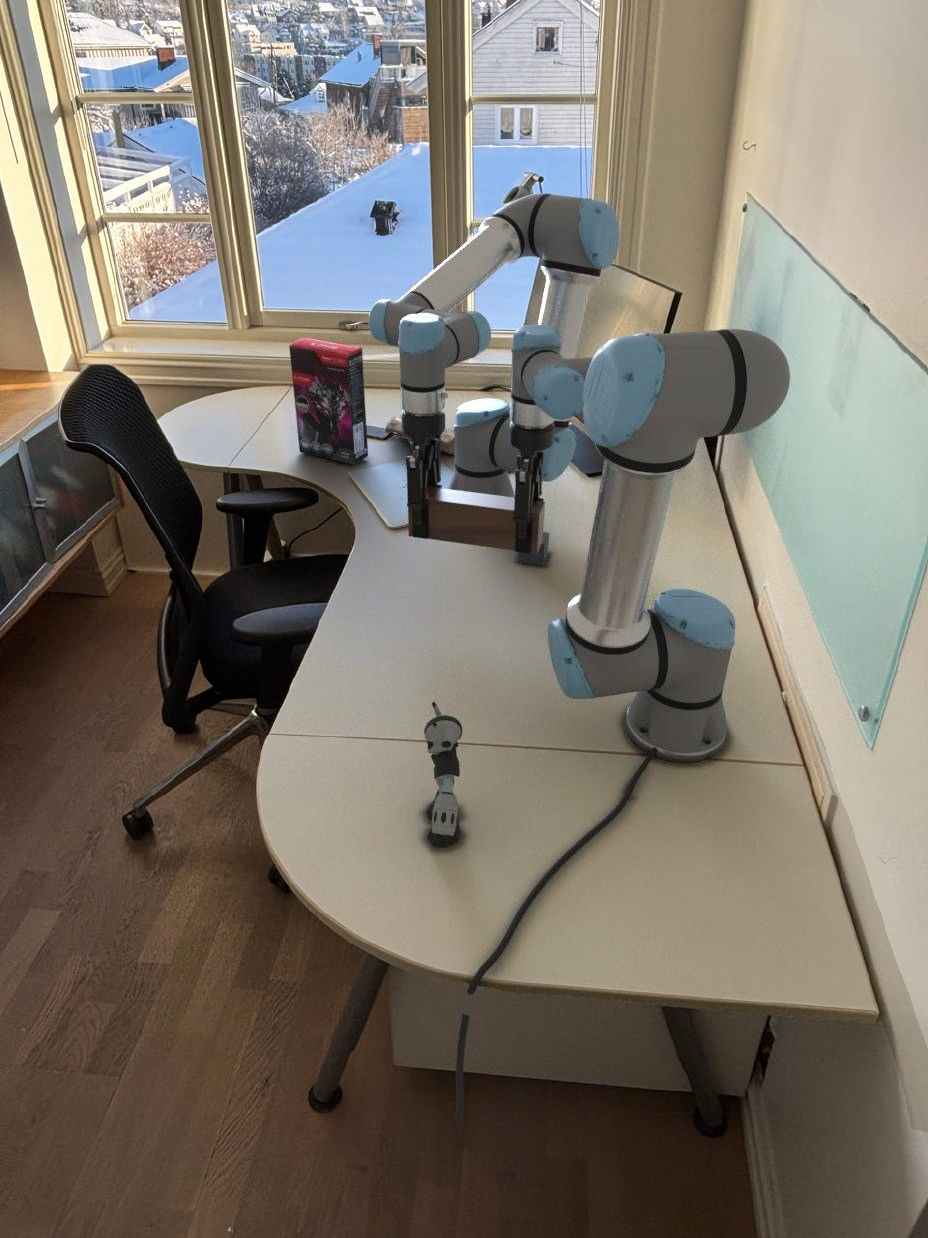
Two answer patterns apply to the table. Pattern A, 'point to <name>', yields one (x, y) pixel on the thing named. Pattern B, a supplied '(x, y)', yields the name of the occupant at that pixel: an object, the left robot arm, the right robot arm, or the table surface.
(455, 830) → the robot
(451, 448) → the stone
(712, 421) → the right robot arm
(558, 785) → the table surface
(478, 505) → the brown rectangular block
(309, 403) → the graphics card box
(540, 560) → the slate grey block
